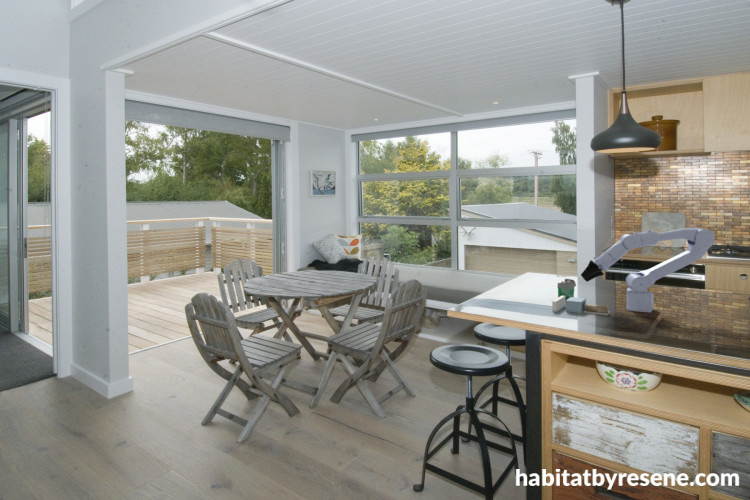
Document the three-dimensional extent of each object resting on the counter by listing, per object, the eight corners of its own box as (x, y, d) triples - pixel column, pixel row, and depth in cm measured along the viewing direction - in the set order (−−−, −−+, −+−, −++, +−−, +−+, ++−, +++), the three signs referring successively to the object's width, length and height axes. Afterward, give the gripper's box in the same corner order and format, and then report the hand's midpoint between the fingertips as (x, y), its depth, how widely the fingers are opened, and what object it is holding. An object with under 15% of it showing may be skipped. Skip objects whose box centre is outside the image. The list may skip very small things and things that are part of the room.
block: (585, 312, 194) (586, 298, 193) (581, 316, 189) (581, 301, 188) (570, 310, 198) (570, 297, 197) (565, 314, 192) (565, 300, 192)
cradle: (610, 315, 187) (610, 311, 187) (607, 318, 183) (607, 314, 183) (586, 313, 193) (586, 308, 193) (583, 315, 189) (583, 311, 189)
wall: (565, 308, 202) (565, 295, 201) (556, 314, 192) (556, 301, 192) (561, 308, 203) (561, 295, 202) (552, 314, 193) (552, 301, 193)
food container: (571, 306, 205) (572, 284, 203) (557, 305, 208) (557, 283, 207) (579, 300, 214) (579, 279, 213) (565, 299, 218) (565, 278, 217)
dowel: (608, 312, 187) (608, 305, 186) (606, 314, 184) (606, 307, 184) (587, 310, 192) (587, 303, 191) (585, 312, 189) (585, 304, 189)
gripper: (605, 253, 198) (579, 274, 202) (601, 245, 186) (574, 268, 190) (617, 265, 195) (591, 286, 199) (614, 258, 183) (586, 281, 186)
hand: (583, 278), depth 194 cm, fingers open, 7 cm apart
